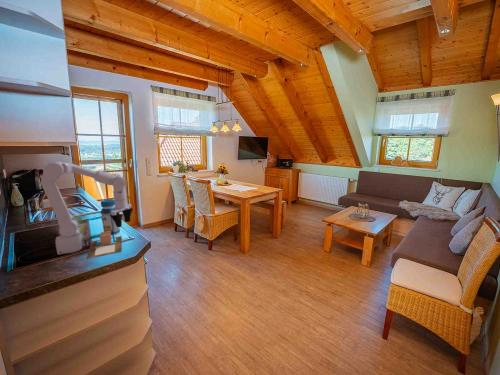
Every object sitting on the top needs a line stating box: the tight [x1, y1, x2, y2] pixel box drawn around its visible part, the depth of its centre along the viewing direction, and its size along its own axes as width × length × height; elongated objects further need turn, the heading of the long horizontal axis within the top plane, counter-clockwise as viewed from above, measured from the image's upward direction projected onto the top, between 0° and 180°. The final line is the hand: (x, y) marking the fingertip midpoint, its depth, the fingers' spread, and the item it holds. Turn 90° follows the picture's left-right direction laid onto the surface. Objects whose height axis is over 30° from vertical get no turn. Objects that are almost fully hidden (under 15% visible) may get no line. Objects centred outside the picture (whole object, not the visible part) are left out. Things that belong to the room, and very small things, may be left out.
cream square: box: [94, 244, 115, 256], centre depth 115 cm, size 8×9×1 cm
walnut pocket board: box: [86, 235, 123, 260], centre depth 120 cm, size 14×22×1 cm, turn 28°
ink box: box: [73, 214, 92, 242], centre depth 129 cm, size 7×4×13 cm, turn 168°
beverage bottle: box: [100, 198, 121, 236], centre depth 137 cm, size 8×8×20 cm
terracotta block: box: [99, 231, 113, 246], centre depth 124 cm, size 4×6×6 cm
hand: (123, 224), depth 126 cm, fingers open, 7 cm apart
